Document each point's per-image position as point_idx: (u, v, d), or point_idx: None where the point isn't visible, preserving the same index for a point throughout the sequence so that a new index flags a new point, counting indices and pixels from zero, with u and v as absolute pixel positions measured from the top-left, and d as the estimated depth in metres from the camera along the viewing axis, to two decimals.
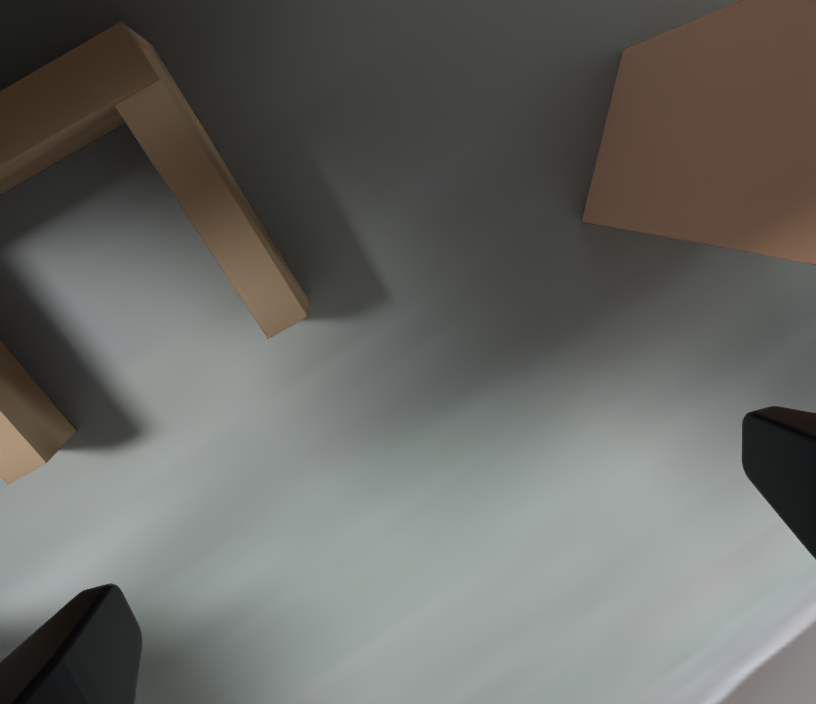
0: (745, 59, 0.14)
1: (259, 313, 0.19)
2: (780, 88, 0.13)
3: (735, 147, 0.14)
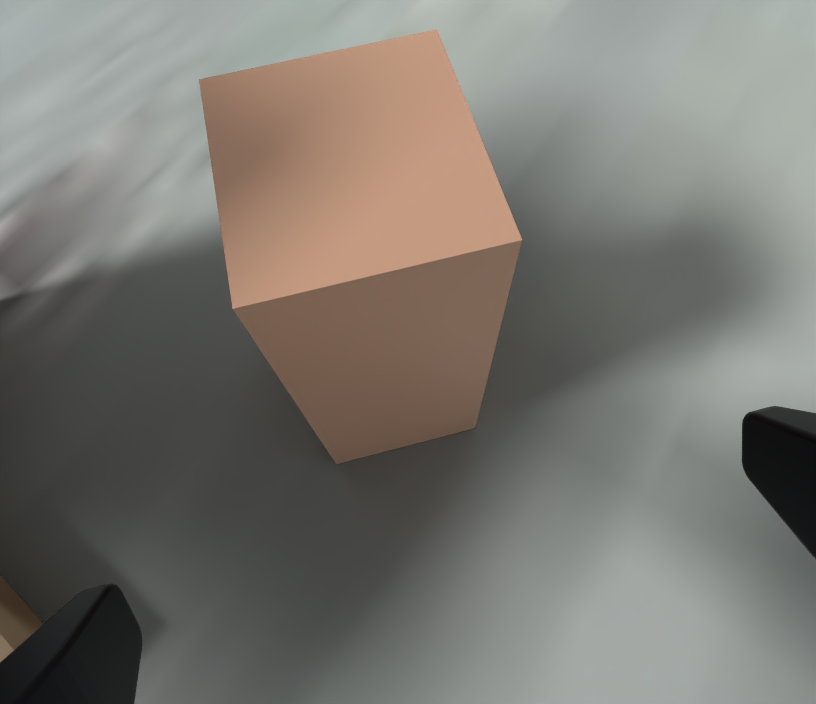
0: None
1: None
2: None
3: None
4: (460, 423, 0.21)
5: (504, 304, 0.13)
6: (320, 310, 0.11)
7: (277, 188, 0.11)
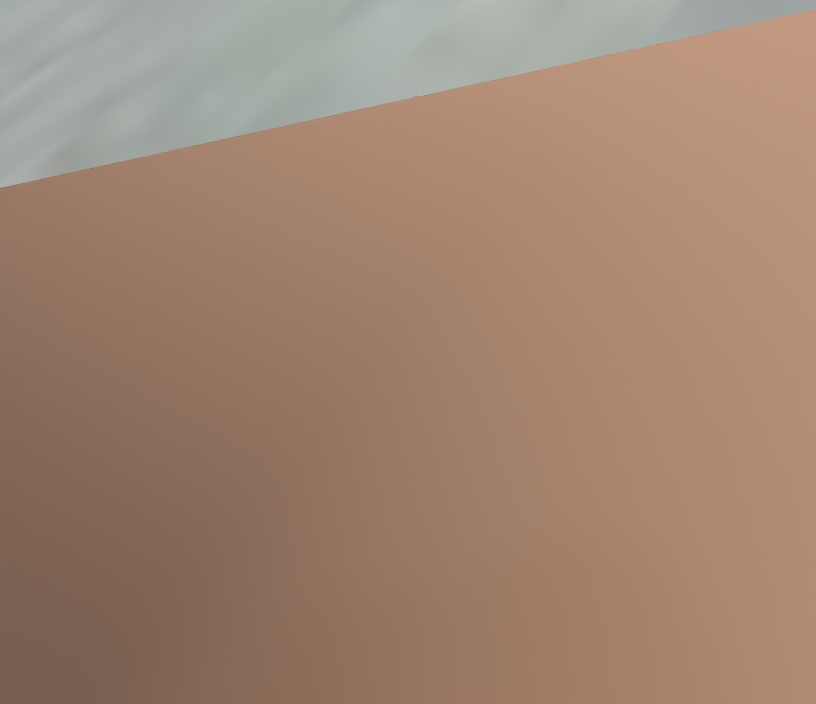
0: None
1: None
2: None
3: None
4: None
5: None
6: None
7: None
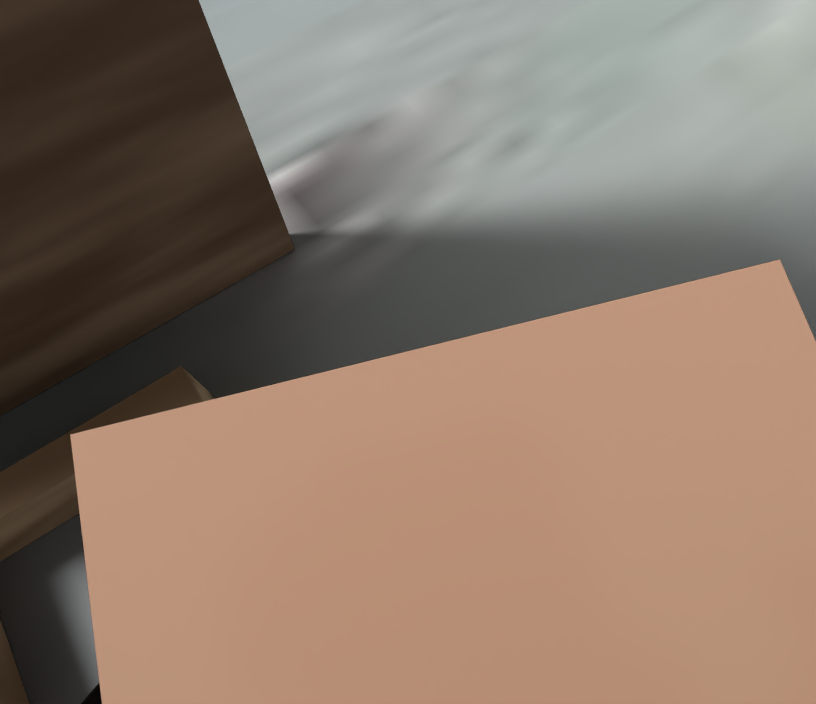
0: None
1: None
2: None
3: None
4: None
5: None
6: None
7: None
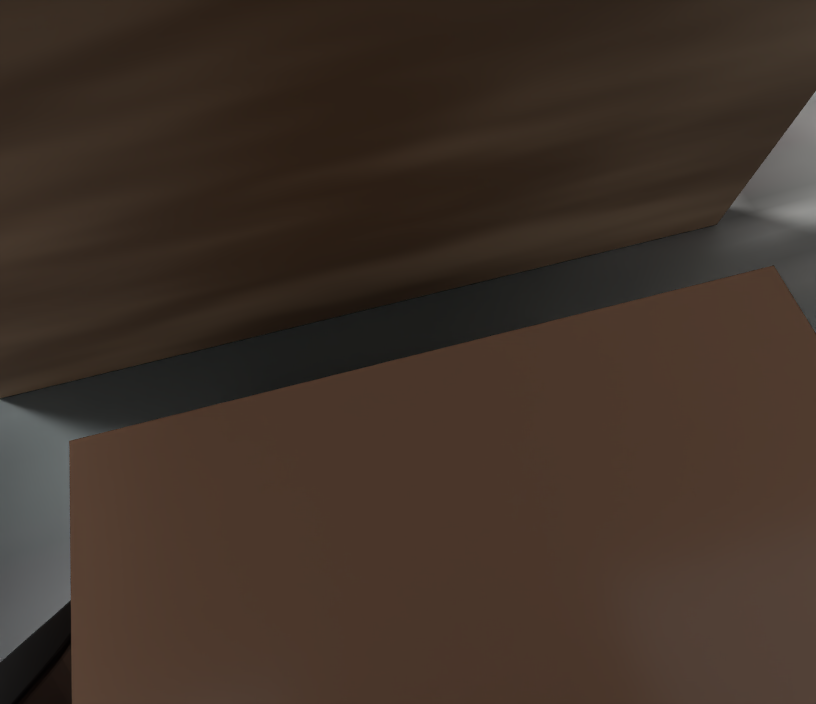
0: None
1: None
2: None
3: None
4: None
5: None
6: None
7: None
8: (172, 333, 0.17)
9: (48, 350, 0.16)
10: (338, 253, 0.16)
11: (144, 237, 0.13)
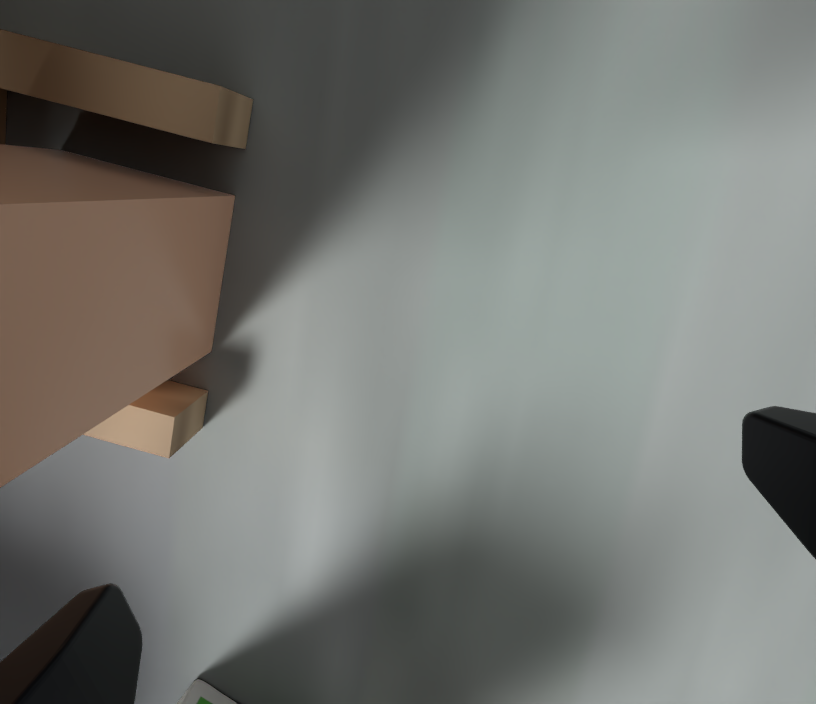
0: None
1: (183, 126, 0.16)
2: None
3: None
4: (218, 216, 0.18)
5: None
6: None
7: None
8: None
9: None
10: None
11: None
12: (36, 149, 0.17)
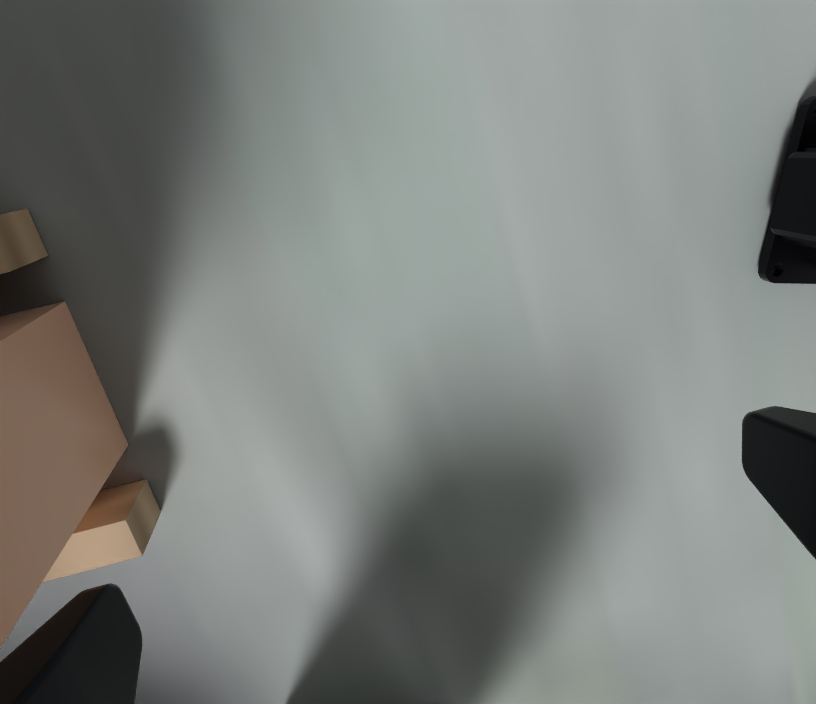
0: None
1: None
2: None
3: None
4: (59, 329, 0.18)
5: None
6: None
7: None
8: None
9: None
10: None
11: None
12: None
